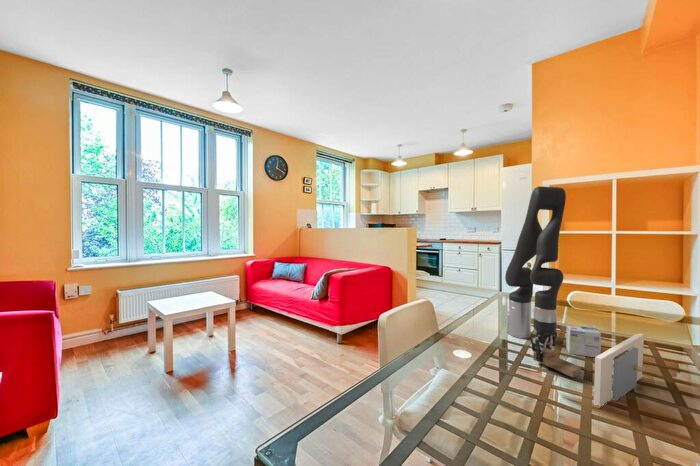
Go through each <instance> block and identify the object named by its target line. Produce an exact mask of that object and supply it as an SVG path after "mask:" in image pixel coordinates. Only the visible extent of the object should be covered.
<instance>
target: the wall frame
mask: <svg viewBox="0 0 700 466" xmlns="http://www.w3.org/2000/svg"><path fill="white" fill-rule="evenodd" d="M644 338H645V334H644V333H640V332H639V333H636V334H634V335H631V336H630V337H629V338H627V339H625V340H623V341H622V342H620V343H618V344H616V345H613V347H611V348H609V349H607V350H605V351H604V352H601V354H600V355H598V356H596V357H594V379H593V404H594V405H599V406H601V405H603V404H604V403H605V402H607V401H609V402H610V400H611V401H612V394H613V370H614V359H615V358H616V357H619V355H622V354H624V352H628V351H630V350H631V349H633V348H638V366H640V367H642V368H643V363H644V361H643V360H644V344H645V343H644V341H645V339H644ZM627 350H628V351H627ZM642 377H643V371H642V372H639V371H637V382H638V381H639V380H640V379H642Z"/></svg>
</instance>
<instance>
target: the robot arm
mask: <svg viewBox="0 0 700 466" xmlns="http://www.w3.org/2000/svg"><path fill="white" fill-rule="evenodd" d="M566 199H567V196H566V190H565V189H564V188H563V187H558V186H536V187H535V188H534V189H533V190H532V192H531V195H530V198H529V204H528V207H527V210H526V211H527V212H526V215H525V219H524V223H523V225H522V228H521V232H520V233H519V237H518V240H517V244H516V247H515V250H514V252H513V256H512V257H511V260H510V262H509V265H508V267H507V268H506V271H505V277H504V278H505V279H504V280H505V283H506V285H507V286H509V287H512V288H517V289H515V290H514V291H511V292H510V293H509V294H508V313H507V314H506V333H508V334H509V335H510V336H512V337H515V338H518V339H529V338H530V345H531V351H532V352H534V351H535V352H536V360H537V361H536V362H538V361H539V362H538V363H540V362H543V350H544V348H548V349H551V350H553V348H554V347H556V343H557V338H558V337H557V336H558V332H557V323H558V322H557V321H558V314H557V303H558V302H557V301H558V294H559V291H560V288H561V287H562V284H563V281H564V278H565V277H564V273H563V272H562V270H560V269H559V268H554V267H542V266H543V265H544V264H546V263H554V262H555V263H556V262H558V259H559V242H560V241H559V239H560V231H561V227H562V223H563V219H564V218H563V217H564V211H565V207H566V206H565V205H566V202H567V201H566ZM540 210H543V211H544V210H545V211H551V212H552V213H551V217H550V220H549V221H548V223H547V225H546V226H545V227H544V228H542V226H541V224H540V222H539V217H538V216H539V211H540ZM534 257H535V260H534V263H533V265H532V266H533V267H532V269H531V268H530V267H527V266H526V267H524V266H525V264H527V263H528V262H530V260H532V259H533V258H534ZM534 285H535V286H543V287H550V288H549V289H546V290H538V291H536V292H535V293H534ZM533 294H534V307H533V319H532V297H533ZM531 323H532V324H531ZM532 325H533V326H532ZM531 327H532V328H533V329H535V331H536V332H535V333H536V334H535V337H533V336H531V335H532V334H531V333H532V332H531V331H532V330H531V329H532V328H531ZM540 347H541V350H540Z"/></svg>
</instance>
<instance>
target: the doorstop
mask: <svg viewBox="0 0 700 466" xmlns="http://www.w3.org/2000/svg"><path fill="white" fill-rule="evenodd" d="M540 350H541V347H540ZM532 353H533V355H532V356H533V358H532V359H533V360H534V361H536V362H538V363H539V364H542V365H545V366H547V367H549V368H551V369H554V370H556V371H557V372H560V373H562V374H564V375H566V376H569V377H571V378H575V377H577V376H578V375H581V371H582V370H581V369H582V368H581V366H579V365H577V364H575V363H573V362H570V361H567V360H565V359H563V358H560V357H557V356H555V350H554V349H548V348H544V350H543V362H539V361H537V360H536V352H535V351H533V352H532Z"/></svg>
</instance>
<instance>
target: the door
mask: <svg viewBox="0 0 700 466" xmlns="http://www.w3.org/2000/svg"><path fill="white" fill-rule="evenodd" d="M637 371H639V372H642V373H643V366H642V367H640V366H638V348H633V349H631V350H630V351H625V353H622V354H620V356H617V358H616V357H615V358H614V359H613V371H612V394H611V400H613V399H614V400H613V401H615V400H617V399H618V400H619V398H620V397H621V396H622V395H624V394H625V395H626V394H628V393H629V392H630V391H632V390H633V389H634V388H635V387H637V384H638V383H637V382H638V381H637ZM625 395H624V396H625ZM622 397H623V396H622ZM622 397H621V398H622ZM621 398H620V399H621ZM618 400H617V401H618Z"/></svg>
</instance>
